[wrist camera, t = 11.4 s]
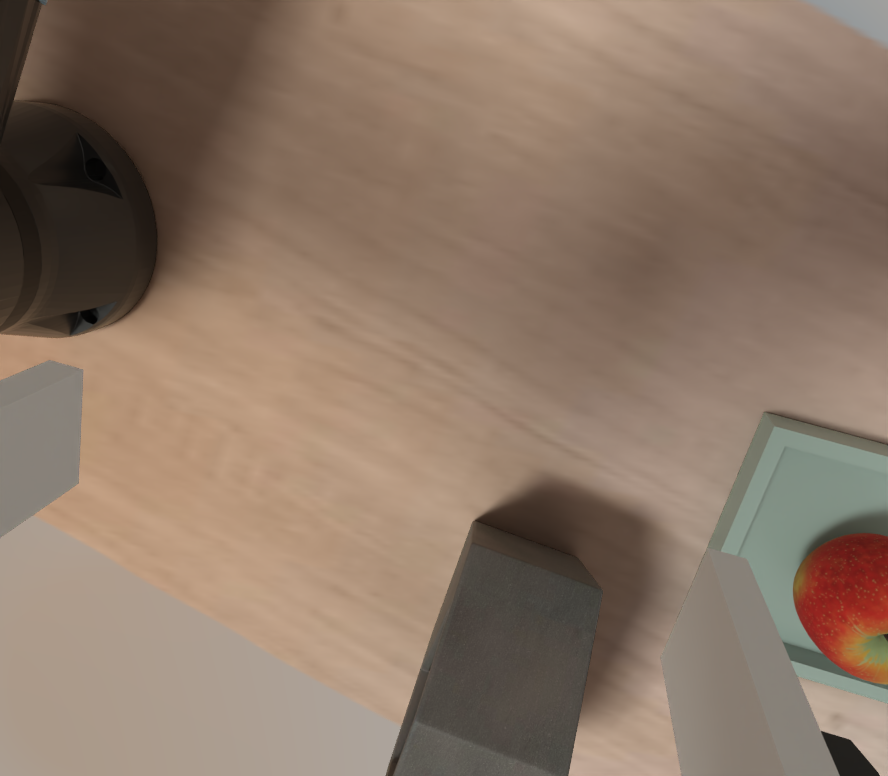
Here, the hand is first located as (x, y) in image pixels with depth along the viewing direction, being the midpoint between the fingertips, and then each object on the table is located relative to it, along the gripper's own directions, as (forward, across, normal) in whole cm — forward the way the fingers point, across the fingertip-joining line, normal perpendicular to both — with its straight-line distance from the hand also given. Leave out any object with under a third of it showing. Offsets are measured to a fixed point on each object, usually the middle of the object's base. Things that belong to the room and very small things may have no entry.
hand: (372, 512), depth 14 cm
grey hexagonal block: (+31, +6, -24) cm, 40 cm away
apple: (+30, +26, -13) cm, 42 cm away
